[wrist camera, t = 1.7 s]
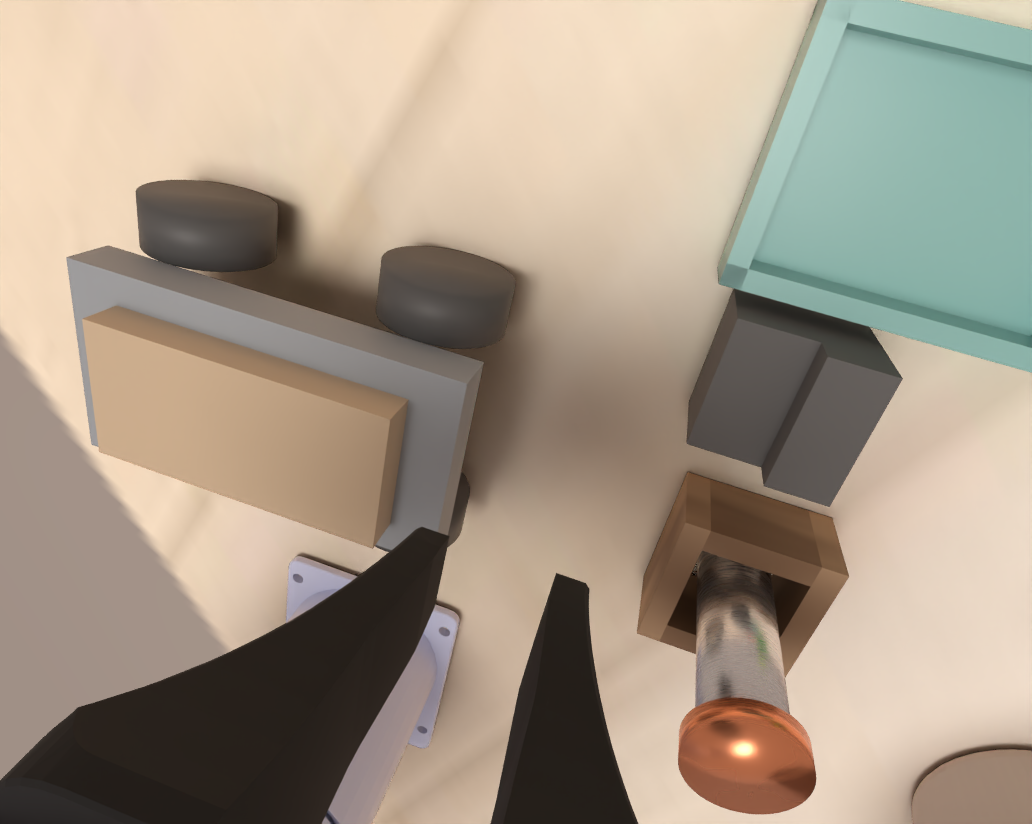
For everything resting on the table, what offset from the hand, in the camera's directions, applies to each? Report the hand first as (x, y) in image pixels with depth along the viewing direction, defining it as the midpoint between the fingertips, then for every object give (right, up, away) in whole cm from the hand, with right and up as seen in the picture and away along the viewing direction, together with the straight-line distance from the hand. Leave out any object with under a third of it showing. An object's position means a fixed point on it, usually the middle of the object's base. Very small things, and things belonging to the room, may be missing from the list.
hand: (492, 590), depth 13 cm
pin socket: (+8, -1, +10) cm, 13 cm away
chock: (+9, +5, +7) cm, 12 cm away
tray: (+11, +9, +4) cm, 15 cm away
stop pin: (+8, -1, +10) cm, 13 cm away
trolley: (-6, +6, +11) cm, 14 cm away
